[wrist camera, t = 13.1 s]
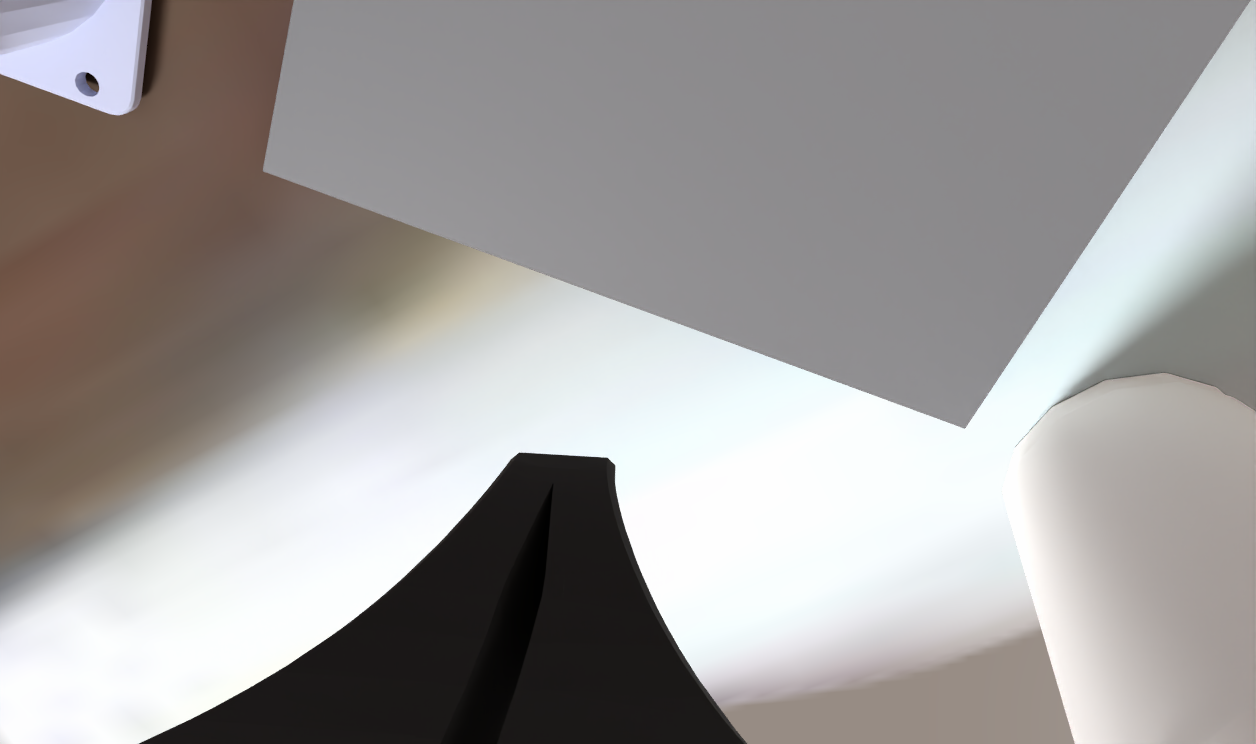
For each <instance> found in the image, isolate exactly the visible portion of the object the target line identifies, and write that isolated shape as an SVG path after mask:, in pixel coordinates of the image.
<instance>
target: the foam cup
mask: <svg viewBox="0 0 1256 744" xmlns="http://www.w3.org/2000/svg"><path fill="white" fill-rule="evenodd" d="M1002 493H1003V497H1004V500H1005V504H1006V509H1007V512H1008V516H1009V519H1010V523H1011V526H1012V530H1013V533H1014V537H1015V540H1016V544H1017V547H1018V551H1019V554H1020V557H1021V561H1022V564H1023V568H1024V571H1025V575H1026V578H1027V581H1028V585H1029V588H1030V592H1031V595H1032V598H1033V602H1034V605H1035V609H1036V612H1037V616H1038V619H1039V622H1040V626H1041V629H1042V633H1043V636H1044V639H1045V643H1046V646H1047V650H1048V653H1049V656H1050V660H1051V663H1052V667H1053V670H1054V674H1055V677H1056V680H1057V683H1058V687H1059V690H1060V694H1061V698H1062V701H1063V704H1064V708H1065V711H1066V715H1067V718H1068V721H1069V725H1070V728H1071V732H1072V735H1073V739H1074V742H1075V744H1256V411H1255V410H1253V409H1251V408H1250V407H1248V406H1247V405H1245V404H1244V403H1242V402H1240V401H1239V400H1237V399H1236V398H1234V397H1231V396H1228V395H1224V394H1223V393H1222V392H1221V391H1220V390H1219V389H1218V388H1217V387H1214V386H1211V385H1207V384H1204V383H1200V382H1197V381H1193V380H1189V379H1186V378H1182V377H1179V376H1175V375H1172V374H1168V373H1158V374H1150V375H1142V376H1134V377H1126V378H1118V379H1110V380H1104V381H1102V382H1100V383H1098V384H1096V385H1095V386H1093V387H1091V388H1089V389H1087V390H1085V391H1083V392H1081V393H1079V394H1077V395H1075V396H1073V397H1071V398H1069V399H1067V400H1065V401H1063V402H1061V403H1059V404H1057V405H1055V406H1053V407H1051V408H1050V410H1049V411H1048V412H1047V413H1046V414H1045V415H1044V416H1043V417H1042V418H1041V419H1040V420H1039V422H1038V423H1037V424H1036V425H1035V426H1034V427H1033V428H1032V429H1031V430H1030V431H1029V433H1028V434H1027V435H1026V436H1025V437H1024V438H1023V439H1022V440H1021V441H1020V442H1019V444H1018V445H1017V446H1016V447H1015V449H1014V452H1013V456H1012V459H1011V463H1010V466H1009V469H1008V473H1007V476H1006V479H1005V483H1004V486H1003V490H1002Z"/></svg>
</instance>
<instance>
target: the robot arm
mask: <svg viewBox="0 0 1256 744" xmlns="http://www.w3.org/2000/svg"><path fill="white" fill-rule="evenodd" d="M151 4H152V0H0V74H2V75H5V76H8V77H10V78H13V79H16V80H19V81H21V82H24V83H27V84H29V85H32V86H35V87H38V88H40V89H43V90H46V91H49V92H51V93H54V94H57V95H59V96H62V97H65V98H68V99H70V100H73V101H76V102H79V103H81V104H84V105H87V106H89V107H92V108H95V109H98V110H100V111H103V112H106V113H109V114H113V115H122V114H126V113H128V112H131V111H133V110H134V109H135V108H136V107H137V106H139V103H140V100H141V95H142V86H143V77H144V68H145V59H146V50H147V41H148V31H149V22H150V13H151ZM87 72H88V73H90V74H91V75H93V76H94V77H95V78H96V80H97V81H98V83H99V88H100V89H99V92H98V93H97V92H95V91H94V90H92V89H91V88H90V87H89V86H88V84H87V83H86V77H85V76H86V73H87ZM139 744H747V743H746V742H745V741H744V739H743V738H742V737H741V736H740V735H739V733H738V732H737V731H736V730H735V728H734V727H733V726H732V725H731V723H730V722H729V720H728V719H727V718H726V716H725V715H724V713H723V712H722V711H721V709H720V708H719V707H718V705H717V704H716V702H715V701H714V700H713V698H712V697H711V696H710V694H709V693H708V692H707V690H706V689H705V687H704V686H703V685H702V683H701V682H700V681H699V679H698V678H697V676H696V675H695V673H694V671H693V670H692V668H691V667H690V665H689V663H688V662H687V660H686V659H685V657H684V655H683V654H682V652H681V651H680V649H679V647H678V645H677V644H676V642H675V640H674V638H673V637H672V635H671V633H670V631H669V630H668V628H667V626H666V624H665V622H664V620H663V618H662V616H661V615H660V613H659V611H658V608H657V606H656V604H655V602H654V600H653V598H652V596H651V594H650V592H649V589H648V587H647V585H646V583H645V580H644V578H643V576H642V573H641V571H640V569H639V566H638V564H637V561H636V558H635V556H634V553H633V550H632V547H631V544H630V541H629V538H628V536H627V533H626V530H625V526H624V523H623V520H622V516H621V512H620V508H619V504H618V499H617V494H616V487H615V465H614V464H613V463H612V462H611V461H610V460H609V459H608V458H601V457H585V456H568V455H551V454H534V453H518V454H517V455H516V456H515V457H513V458H512V459H511V460H510V462H509V463H508V464H507V466H506V467H505V468H504V469H503V471H502V472H501V473H500V475H499V476H498V477H497V478H496V480H495V481H494V482H493V483H492V485H491V486H490V487H489V488H488V490H487V491H486V492H485V493H484V494H483V495H482V497H481V498H480V499H479V500H478V501H477V502H476V504H475V505H474V506H473V507H472V508H471V509H470V511H469V512H468V513H467V514H466V515H465V516H464V517H463V518H462V519H461V520H460V521H459V523H458V524H457V525H456V526H455V527H454V528H453V529H452V530H451V531H450V532H449V533H448V535H447V536H446V537H445V538H444V539H443V540H442V541H441V542H440V543H439V544H438V545H437V546H436V547H435V548H434V549H433V550H432V551H431V552H430V553H429V554H428V555H427V556H426V557H425V558H423V559H422V560H421V561H420V562H419V563H418V564H417V565H416V566H415V567H414V568H413V569H412V570H411V571H410V572H409V573H408V574H407V575H406V576H405V577H404V578H403V579H401V580H400V581H399V582H398V583H397V584H396V585H395V586H394V587H392V588H391V589H390V590H389V591H388V592H387V593H386V594H384V595H383V596H382V597H381V598H380V599H378V600H377V601H376V602H375V603H374V604H372V605H371V606H370V607H369V608H367V609H366V610H365V611H364V612H362V613H361V614H360V615H359V616H357V617H356V618H355V619H354V620H352V621H351V622H350V623H348V624H347V625H346V626H344V627H343V628H342V629H340V630H339V631H337V632H336V633H335V634H333V635H332V636H330V637H329V638H327V639H326V640H325V641H323V642H322V643H320V644H319V645H317V646H316V647H314V648H313V649H311V650H310V651H308V652H307V653H305V654H304V655H302V656H301V657H299V658H298V659H296V660H295V661H293V662H292V663H290V664H289V665H287V666H286V667H284V668H282V669H281V670H279V671H278V672H276V673H274V674H272V675H271V676H269V677H267V678H266V679H264V680H262V681H261V682H259V683H257V684H255V685H254V686H252V687H250V688H249V689H247V690H245V691H243V692H241V693H240V694H238V695H236V696H234V697H232V698H230V699H229V700H227V701H225V702H223V703H221V704H219V705H218V706H216V707H214V708H212V709H210V710H208V711H206V712H204V713H202V714H200V715H198V716H196V717H194V718H193V719H191V720H188V721H186V722H184V723H182V724H180V725H178V726H176V727H173V728H171V729H169V730H167V731H165V732H163V733H161V734H159V735H156V736H154V737H152V738H150V739H148V740H146V741H144V742H141V743H139Z"/></svg>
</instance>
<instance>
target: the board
mask: <svg viewBox="0 0 1256 744" xmlns="http://www.w3.org/2000/svg"><path fill="white" fill-rule="evenodd" d="M1249 2H1250V0H294V3H293V8H292V14H291V19H290V25H289V30H288V35H287V41H286V46H285V52H284V57H283V63H282V68H281V74H280V79H279V85H278V90H277V96H276V101H275V107H274V112H273V118H272V123H271V129H270V134H269V140H268V145H267V151H266V156H265V162H264V167H263V171H264V172H267V173H270V174H272V175H275V176H278V177H280V178H283V179H286V180H289V181H291V182H294V183H297V184H299V185H302V186H305V187H308V188H310V189H313V190H316V191H319V192H321V193H324V194H327V195H329V196H332V197H335V198H338V199H340V200H343V201H346V202H349V203H351V204H354V205H357V206H359V207H362V208H365V209H368V210H370V211H373V212H376V213H379V214H381V215H384V216H387V217H389V218H392V219H395V220H398V221H400V222H403V223H406V224H409V225H411V226H414V227H417V228H419V229H422V230H425V231H428V232H430V233H433V234H436V235H439V236H441V237H444V238H447V239H449V240H452V241H455V242H458V243H460V244H463V245H466V246H469V247H471V248H474V249H477V250H479V251H482V252H485V253H488V254H490V255H493V256H496V257H499V258H501V259H504V260H507V261H509V262H512V263H515V264H518V265H520V266H523V267H526V268H529V269H531V270H534V271H537V272H539V273H542V274H545V275H548V276H550V277H553V278H556V279H559V280H561V281H564V282H567V283H569V284H572V285H575V286H578V287H580V288H583V289H586V290H589V291H591V292H594V293H597V294H599V295H602V296H605V297H608V298H610V299H613V300H616V301H619V302H621V303H624V304H627V305H629V306H632V307H635V308H638V309H640V310H643V311H646V312H648V313H651V314H654V315H657V316H659V317H662V318H665V319H668V320H670V321H673V322H676V323H678V324H681V325H684V326H687V327H689V328H692V329H695V330H698V331H700V332H703V333H706V334H708V335H711V336H714V337H717V338H719V339H722V340H725V341H728V342H730V343H733V344H736V345H738V346H741V347H744V348H747V349H749V350H752V351H755V352H758V353H760V354H763V355H766V356H768V357H771V358H774V359H777V360H779V361H782V362H785V363H788V364H790V365H793V366H796V367H798V368H801V369H804V370H807V371H809V372H812V373H815V374H818V375H820V376H823V377H826V378H828V379H831V380H834V381H837V382H839V383H842V384H845V385H848V386H850V387H853V388H856V389H858V390H861V391H864V392H867V393H869V394H872V395H875V396H878V397H880V398H883V399H886V400H888V401H891V402H894V403H897V404H899V405H902V406H905V407H908V408H910V409H913V410H916V411H918V412H921V413H924V414H927V415H929V416H932V417H935V418H938V419H940V420H943V421H946V422H948V423H951V424H954V425H957V426H959V427H962V428H966V426H967V425H968V423H969V422H970V420H971V419H972V417H973V416H974V414H975V413H976V411H977V410H978V408H979V407H980V405H981V404H982V402H983V401H984V399H985V398H986V396H987V395H988V393H989V392H990V390H991V389H992V387H993V386H994V384H995V383H996V381H997V380H998V378H999V377H1000V375H1001V374H1002V372H1003V371H1004V369H1005V368H1006V366H1007V365H1008V363H1009V362H1010V360H1011V359H1012V357H1013V356H1014V354H1015V353H1016V351H1017V350H1018V348H1019V347H1020V345H1021V344H1022V342H1023V341H1024V339H1025V338H1026V336H1027V335H1028V333H1029V332H1030V330H1031V329H1032V327H1033V326H1034V324H1035V323H1036V321H1037V320H1038V318H1039V317H1040V315H1041V314H1042V312H1043V311H1044V309H1045V308H1046V306H1047V305H1048V303H1049V302H1050V300H1051V299H1052V297H1053V296H1054V294H1055V293H1056V291H1057V290H1058V288H1059V287H1060V285H1061V284H1062V282H1063V281H1064V279H1065V278H1066V276H1067V275H1068V273H1069V272H1070V270H1071V269H1072V267H1073V266H1074V264H1075V263H1076V261H1077V260H1078V258H1079V257H1080V255H1081V254H1082V252H1083V251H1084V249H1085V248H1086V246H1087V245H1088V243H1089V242H1090V240H1091V239H1092V237H1093V236H1094V234H1095V233H1096V231H1097V230H1098V228H1099V227H1100V225H1101V224H1102V222H1103V221H1104V219H1105V218H1106V216H1107V215H1108V213H1109V212H1110V210H1111V209H1112V207H1113V206H1114V204H1115V203H1116V201H1117V200H1118V198H1119V197H1120V195H1121V194H1122V192H1123V191H1124V189H1125V188H1126V186H1127V185H1128V183H1129V182H1130V180H1131V179H1132V177H1133V176H1134V174H1135V173H1136V171H1137V170H1138V168H1139V167H1140V165H1141V164H1142V162H1143V161H1144V159H1145V158H1146V156H1147V155H1148V153H1149V152H1150V150H1151V149H1152V147H1153V146H1154V144H1155V143H1156V141H1157V140H1158V138H1159V137H1160V135H1161V134H1162V132H1163V131H1164V129H1165V128H1166V126H1167V125H1168V123H1169V122H1170V120H1171V119H1172V117H1173V116H1174V114H1175V113H1176V111H1177V110H1178V108H1179V107H1180V105H1181V104H1182V102H1183V101H1184V99H1185V98H1186V96H1187V95H1188V93H1189V92H1190V90H1191V89H1192V87H1193V86H1194V84H1195V83H1196V81H1197V80H1198V78H1199V77H1200V75H1201V74H1202V72H1203V71H1204V69H1205V68H1206V66H1207V65H1208V63H1209V62H1210V60H1211V59H1212V57H1213V56H1214V54H1215V53H1216V51H1217V50H1218V48H1219V47H1220V45H1221V44H1222V42H1223V41H1224V39H1225V38H1226V36H1227V35H1228V33H1229V32H1230V30H1231V29H1232V27H1233V26H1234V24H1235V23H1236V21H1237V20H1238V18H1239V17H1240V15H1241V14H1242V12H1243V11H1244V9H1245V8H1246V6H1247V5H1248V3H1249Z"/></svg>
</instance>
